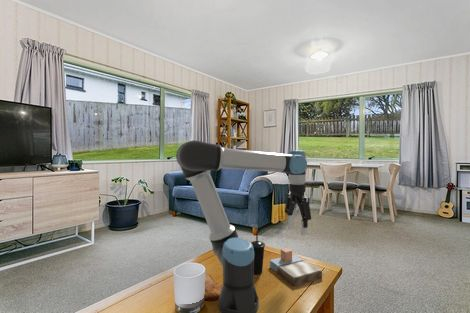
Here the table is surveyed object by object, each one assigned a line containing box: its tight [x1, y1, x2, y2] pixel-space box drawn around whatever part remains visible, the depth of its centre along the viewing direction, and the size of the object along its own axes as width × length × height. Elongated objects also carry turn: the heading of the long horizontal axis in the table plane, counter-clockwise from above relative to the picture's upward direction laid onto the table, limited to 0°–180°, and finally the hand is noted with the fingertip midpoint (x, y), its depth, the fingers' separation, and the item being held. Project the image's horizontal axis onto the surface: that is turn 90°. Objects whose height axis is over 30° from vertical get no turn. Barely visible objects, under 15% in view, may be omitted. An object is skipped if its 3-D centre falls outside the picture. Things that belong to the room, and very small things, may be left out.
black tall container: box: [250, 230, 266, 276], centre depth 116 cm, size 8×8×20 cm
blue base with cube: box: [269, 247, 304, 274], centre depth 122 cm, size 15×7×8 cm, turn 115°
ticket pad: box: [277, 259, 323, 287], centre depth 113 cm, size 16×12×4 cm
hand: (297, 231), depth 114 cm, fingers open, 9 cm apart
